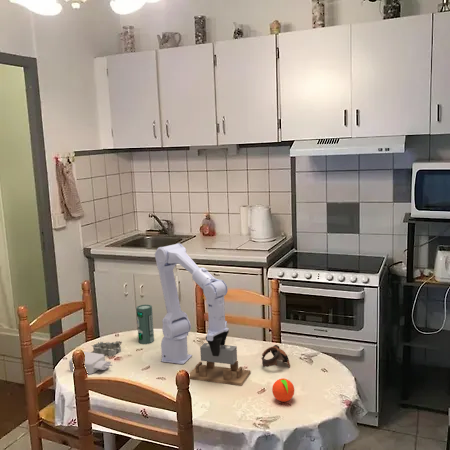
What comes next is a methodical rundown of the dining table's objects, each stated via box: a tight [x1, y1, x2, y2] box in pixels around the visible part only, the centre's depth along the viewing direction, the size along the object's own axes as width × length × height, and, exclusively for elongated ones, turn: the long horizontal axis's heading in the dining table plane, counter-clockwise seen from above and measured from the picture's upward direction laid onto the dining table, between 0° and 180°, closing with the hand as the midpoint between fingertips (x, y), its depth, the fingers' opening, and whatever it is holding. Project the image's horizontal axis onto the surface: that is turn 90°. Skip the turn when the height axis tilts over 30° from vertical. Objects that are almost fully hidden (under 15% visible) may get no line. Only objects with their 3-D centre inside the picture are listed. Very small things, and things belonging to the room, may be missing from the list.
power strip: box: [199, 342, 238, 365], centre depth 178 cm, size 12×4×5 cm, turn 70°
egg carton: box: [91, 340, 123, 357], centre depth 205 cm, size 11×8×4 cm
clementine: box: [271, 377, 295, 403], centre depth 160 cm, size 8×7×7 cm
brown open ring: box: [260, 344, 291, 369], centre depth 186 cm, size 12×10×8 cm
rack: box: [188, 360, 252, 387], centre depth 179 cm, size 20×10×4 cm, turn 70°
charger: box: [68, 351, 113, 375], centre depth 189 cm, size 5×9×15 cm
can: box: [135, 304, 155, 345], centre depth 213 cm, size 6×6×15 cm
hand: (218, 353), depth 178 cm, fingers closed on power strip, 4 cm apart
